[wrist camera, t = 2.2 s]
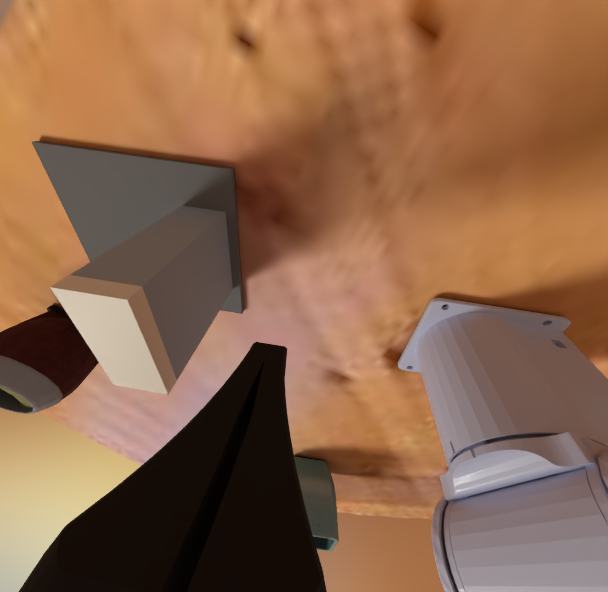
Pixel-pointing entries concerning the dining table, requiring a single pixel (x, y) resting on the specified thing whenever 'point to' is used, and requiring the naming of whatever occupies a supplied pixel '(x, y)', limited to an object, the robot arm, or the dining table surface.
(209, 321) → the slab
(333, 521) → the flower pot
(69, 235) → the dining table surface
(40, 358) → the mate gourd
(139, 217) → the mat
